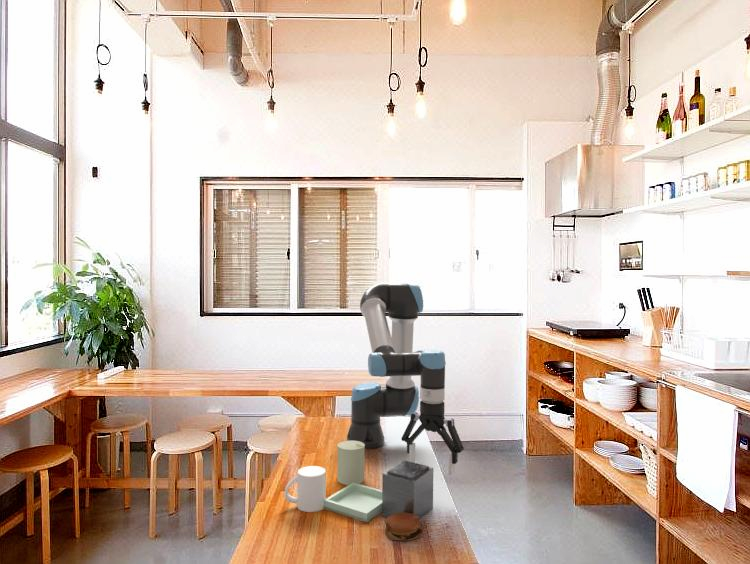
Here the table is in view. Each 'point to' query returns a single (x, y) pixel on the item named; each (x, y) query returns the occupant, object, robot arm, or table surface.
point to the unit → (407, 489)
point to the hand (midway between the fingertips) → (431, 468)
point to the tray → (356, 502)
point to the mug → (309, 489)
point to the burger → (403, 526)
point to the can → (350, 462)
